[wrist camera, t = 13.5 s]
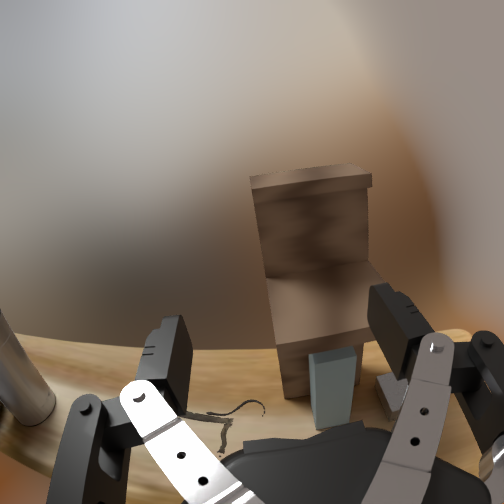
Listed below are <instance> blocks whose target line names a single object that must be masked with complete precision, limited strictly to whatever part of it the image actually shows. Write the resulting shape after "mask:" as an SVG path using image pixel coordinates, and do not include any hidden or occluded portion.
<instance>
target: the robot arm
mask: <svg viewBox="0 0 504 504" xmlns="http://www.w3.org/2000/svg"><path fill="white" fill-rule="evenodd" d="M367 320H368V324H369V327H370V329H371V331H372V333H373V335H374V337H375V339H376V340H377V342H378V344H379V346H380V348H381V350H382V352H383V354H384V356H385V358H386V360H387V362H388V364H389V366H390V368H391V370H392V372H393V374H394V376H395V378H396V380H397V381H399V380H402V379H407V381H408V385H407V388H406V391H405V394H404V397H403V400H402V403H401V406H400V409H399V412H398V415H397V417H396V420H395V423H394V425H393V428H392V430H391V432H390V431H387V430H383V429H378V428H365V427H364V424H363V421H362V420H361V421H357V422H353V423H349V424H345V425H341V426H336V427H333V428H331V429H329V430H326V431H324V432H322V433H320V434H317V435H315V436H313V437H310V438H308V439H304V440H300V439H281V438H268V439H260V440H251V441H243V449H242V450H239V451H236V452H234V453H232V454H230V455H228V456H227V457H225V458H224V459H222V460H221V461H220V462H219V461H218V460H217V459H216V457H215V456H214V455H213V454H212V453H211V452H210V451H209V450H208V449H207V448H206V447H205V446H204V444H203V443H202V442H201V441H200V440H199V439H198V438H197V437H196V435H195V434H194V433H193V432H192V431H191V430H190V429H189V427H188V426H187V425H186V424H185V423H184V421H183V420H182V419H181V418H178V417H177V416H186V410H187V401H188V391H189V383H190V374H191V365H192V357H193V348H192V343H191V339H190V337H189V334H188V331H187V328H186V325H185V322H184V320H183V317H182V315H174V316H165V317H163V320H162V323H161V327H160V329H154V330H153V331H152V332H151V333H150V335H149V336H148V337H147V339H146V343H145V347H144V349H143V353H142V356H141V359H140V363H139V366H138V370H137V373H136V377H135V381H134V382H132V383H130V384H129V385H127V386H126V387H125V388H124V389H123V391H122V392H121V395H120V396H119V397H116V398H113V399H109V400H105V401H101V400H100V399H99V398H98V397H97V396H96V395H93V394H86V395H82V396H80V397H79V398H77V399H76V400H75V401H74V402H73V404H72V406H71V409H70V412H69V415H68V418H67V421H66V425H65V428H64V432H63V435H62V439H61V442H60V446H59V450H58V453H57V457H56V461H55V465H54V469H53V474H52V478H51V482H50V487H49V492H48V497H47V502H46V504H125V503H126V491H127V480H128V471H129V462H130V454H131V447H134V446H138V445H142V444H145V445H146V447H147V448H148V450H149V451H150V453H151V454H152V456H153V457H154V459H155V460H156V461H157V463H158V464H159V466H160V467H161V468H162V470H163V471H164V473H165V474H166V475H167V477H168V478H169V479H170V481H171V482H172V483H173V485H174V486H175V487H176V488H177V490H178V491H179V492H180V494H181V495H182V496H183V497H184V499H185V500H184V501H183V502H182V503H181V504H502V503H503V502H504V345H503V343H502V342H501V341H500V339H499V338H498V337H497V336H496V335H495V334H494V333H492V332H489V331H478V332H476V333H475V334H474V335H473V336H472V339H471V341H470V342H453V341H452V339H451V338H450V337H448V336H447V335H445V334H442V333H435V331H434V330H433V329H432V327H431V326H430V325H429V323H428V322H427V321H426V319H425V318H424V317H423V315H422V314H421V313H420V312H419V310H418V309H417V307H416V306H414V303H413V302H412V301H411V300H410V298H409V297H408V296H406V295H404V294H403V293H401V292H394V290H393V289H392V287H391V286H390V285H389V284H388V283H387V282H386V283H381V284H376V285H371V286H370V288H369V298H368V309H367ZM484 381H485V382H486V383H485V382H484ZM486 384H487V385H488V387H489V389H490V390H489V389H488V387H487V385H486ZM490 391H491V392H490ZM450 393H454V394H455V396H456V398H457V400H458V402H459V404H460V406H461V408H462V411H463V413H464V415H465V417H466V419H467V421H468V423H469V425H470V428H471V430H472V432H473V434H474V437H475V439H476V441H477V443H478V446H479V448H480V450H481V453H482V457H481V459H480V462H479V477H480V479H479V478H478V477H476V476H474V475H472V474H470V473H468V472H466V471H464V470H462V469H460V468H458V467H456V466H454V465H452V464H450V463H448V462H446V461H444V460H442V459H440V458H438V457H436V456H435V455H436V452H437V449H438V445H439V441H440V438H441V434H442V430H443V426H444V422H445V418H446V413H447V408H448V404H449V399H450ZM491 393H492V394H491ZM0 400H1V402H2V403H3V404H4V405H5V406H6V408H7V409H8V410H9V411H10V412H11V413H12V414H13V415H14V416H15V418H16V419H17V420H18V421H19V422H20V423H21V424H23V425H26V426H33V425H36V424H39V423H41V422H42V421H44V420H45V419H46V418H47V417H48V416H49V415H50V413H51V412H52V410H53V408H54V405H55V395H54V393H53V391H52V390H51V389H50V387H49V386H48V385H47V383H46V382H45V380H44V379H43V378H42V376H41V375H40V373H39V372H38V370H37V369H36V367H35V366H34V364H33V363H32V362H31V360H30V358H29V357H28V355H27V354H26V352H25V351H24V349H23V348H22V346H21V344H20V343H19V341H18V339H17V338H16V336H15V334H14V333H13V331H12V329H11V327H10V326H9V324H8V322H7V320H6V319H5V317H4V315H3V313H2V311H1V310H0Z"/></svg>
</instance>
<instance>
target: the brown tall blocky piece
mask: <svg viewBox="0 0 504 504" xmlns="http://www.w3.org/2000/svg"><path fill="white" fill-rule="evenodd" d="M250 183H251V189H252V195H253V200H254V207H255V213H256V219H257V225H258V231H259V237H260V244H261V250H262V256H263V262H264V268H265V275H266V281H267V288H268V294H269V301H270V307H271V314H272V320H273V327H274V333H275V340H276V346H277V353H278V359H279V365H280V372H281V378H282V385H283V391H284V398H285V399H288V398H294V397H300V396H305V395H311V393H310V373H309V354H314V353H319V352H325V351H330V350H334V349H339V348H344V347H349V346H353V348H354V350H355V353H356V355H357V360H356V371H355V380H354V385H357V384H359V382H360V374H361V366H362V356H363V346H364V343H366V342H370V341H374V340H376V339H375V337H374V335H373V333H372V331H371V329H370V327H369V324H368V320H367V309H368V298H369V288H370V286H371V285H376V284H381V283H385V281H384V280H383V279H382V277H381V276H380V275H379V273H378V272H377V271H376V270H375V268H374V267H373V266H372V264H371V263H370V262H369V261H368V196H367V188H370V187H372V173H370V172H368V171H366V170H364V169H362V168H360V167H358V166H356V165H354V164H352V163H347V164H338V165H330V166H321V167H313V168H305V169H297V170H290V171H283V172H276V173H269V174H263V175H256V176H250Z"/></svg>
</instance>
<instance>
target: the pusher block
mask: <svg viewBox="0 0 504 504" xmlns="http://www.w3.org/2000/svg"><path fill="white" fill-rule="evenodd" d="M356 360H357V355H356V353H355V350H354V348H353V346H349V347H344V348H339V349H334V350H330V351H325V352H319V353H314V354H309V373H310V393H311V407H312V412H313V417H314V422H315V427H316V430H318V429H323V428H328V427H333V426H338V425H342V424H347V423H349V419H350V412H351V405H352V397H353V389H354V380H355V371H356Z"/></svg>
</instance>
